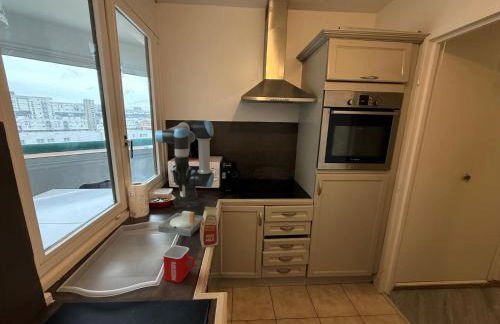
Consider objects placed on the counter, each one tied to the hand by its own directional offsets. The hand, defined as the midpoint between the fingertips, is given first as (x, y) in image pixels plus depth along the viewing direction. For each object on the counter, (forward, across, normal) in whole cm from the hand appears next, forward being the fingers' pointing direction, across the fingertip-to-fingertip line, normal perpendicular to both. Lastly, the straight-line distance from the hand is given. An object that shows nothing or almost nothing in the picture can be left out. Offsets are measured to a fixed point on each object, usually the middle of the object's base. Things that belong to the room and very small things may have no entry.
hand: (182, 196), depth 125 cm
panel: (+20, +2, +3) cm, 20 cm away
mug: (+20, -23, -35) cm, 47 cm away
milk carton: (+20, +2, -22) cm, 30 cm away
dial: (+18, +2, +3) cm, 18 cm away
